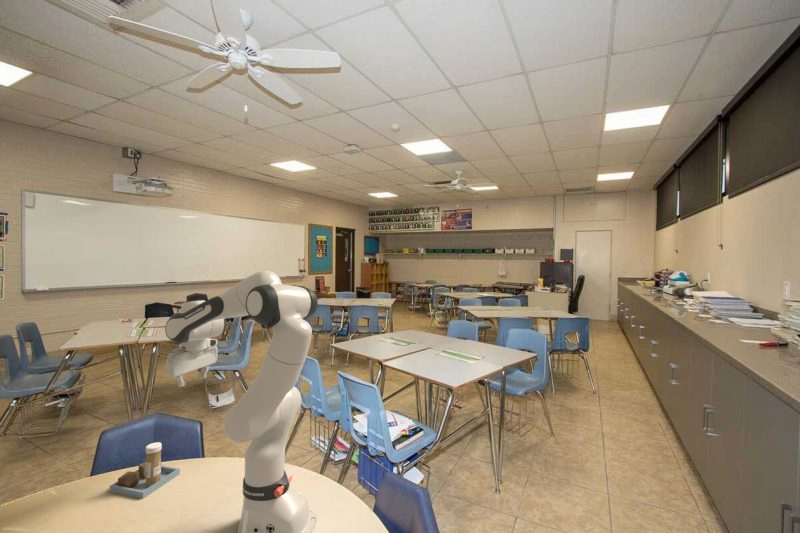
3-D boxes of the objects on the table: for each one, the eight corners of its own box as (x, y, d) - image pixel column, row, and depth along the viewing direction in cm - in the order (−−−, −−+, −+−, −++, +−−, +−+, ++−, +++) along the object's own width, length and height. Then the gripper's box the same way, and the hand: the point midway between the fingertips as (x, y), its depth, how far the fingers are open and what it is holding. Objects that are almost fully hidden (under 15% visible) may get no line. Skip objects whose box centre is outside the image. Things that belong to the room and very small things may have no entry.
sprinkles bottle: (160, 484, 120) (161, 445, 120) (144, 489, 117) (145, 449, 117) (161, 478, 124) (161, 440, 124) (145, 482, 121) (145, 443, 121)
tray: (179, 475, 126) (179, 468, 126) (143, 500, 113) (143, 492, 113) (148, 469, 130) (149, 463, 130) (109, 493, 116) (109, 485, 116)
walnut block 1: (138, 483, 121) (138, 471, 121) (129, 490, 117) (129, 478, 117) (127, 482, 121) (127, 471, 121) (117, 490, 117) (117, 478, 117)
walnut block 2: (156, 473, 126) (156, 462, 126) (144, 479, 123) (144, 468, 123) (150, 470, 128) (150, 459, 128) (138, 476, 125) (138, 465, 125)
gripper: (175, 351, 116) (175, 392, 116) (221, 339, 136) (220, 374, 136) (160, 349, 117) (159, 390, 117) (207, 338, 137) (206, 373, 137)
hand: (192, 382), depth 127 cm, fingers open, 8 cm apart
